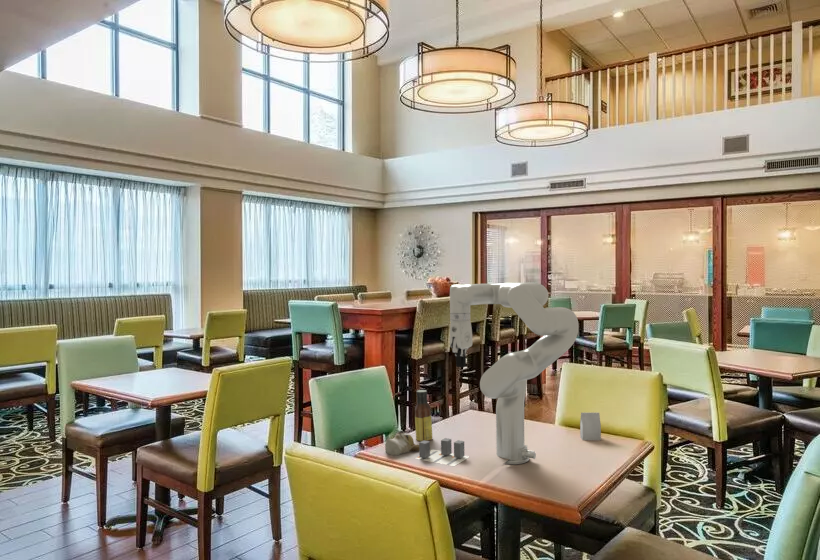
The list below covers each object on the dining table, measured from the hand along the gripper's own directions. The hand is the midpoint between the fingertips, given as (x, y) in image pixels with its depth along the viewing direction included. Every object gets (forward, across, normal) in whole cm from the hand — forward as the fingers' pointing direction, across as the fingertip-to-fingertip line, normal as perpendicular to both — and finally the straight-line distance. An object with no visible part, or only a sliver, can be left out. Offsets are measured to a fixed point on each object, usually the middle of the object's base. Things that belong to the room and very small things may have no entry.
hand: (460, 366), depth 211 cm
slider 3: (+28, -18, -8) cm, 34 cm away
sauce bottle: (+29, -6, +13) cm, 33 cm away
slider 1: (+28, -24, +2) cm, 37 cm away
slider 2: (+28, -18, -4) cm, 33 cm away
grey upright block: (+29, +31, -39) cm, 58 cm away
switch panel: (+29, -21, -4) cm, 36 cm away
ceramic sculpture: (+30, -21, +13) cm, 38 cm away
